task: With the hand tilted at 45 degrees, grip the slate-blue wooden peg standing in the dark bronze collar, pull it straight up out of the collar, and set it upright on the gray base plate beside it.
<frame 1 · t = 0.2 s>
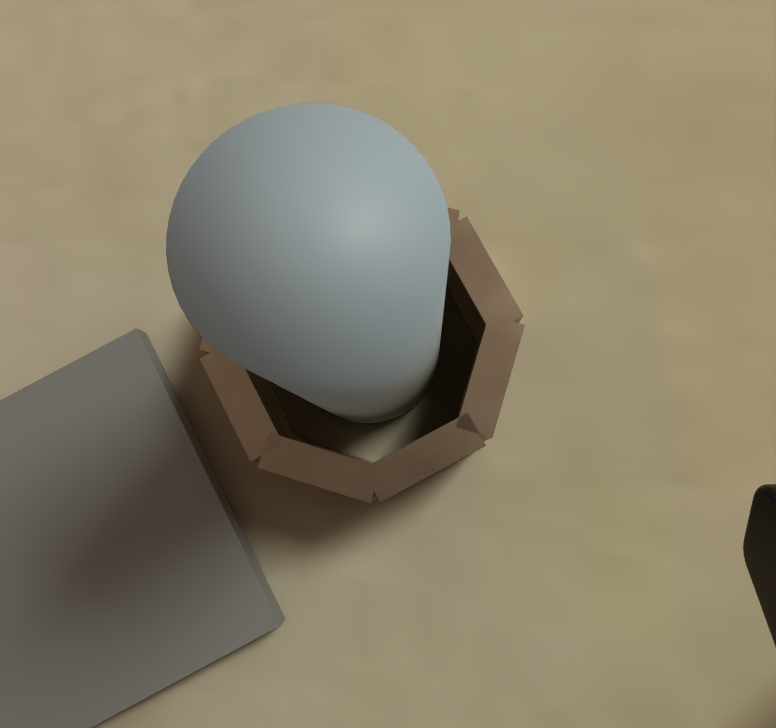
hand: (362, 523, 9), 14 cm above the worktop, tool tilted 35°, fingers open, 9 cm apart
gray base plate: (71, 548, 23), on the worktop
bronze collar: (368, 353, 23), on the worktop
slate peg: (348, 315, 17), in the bronze collar
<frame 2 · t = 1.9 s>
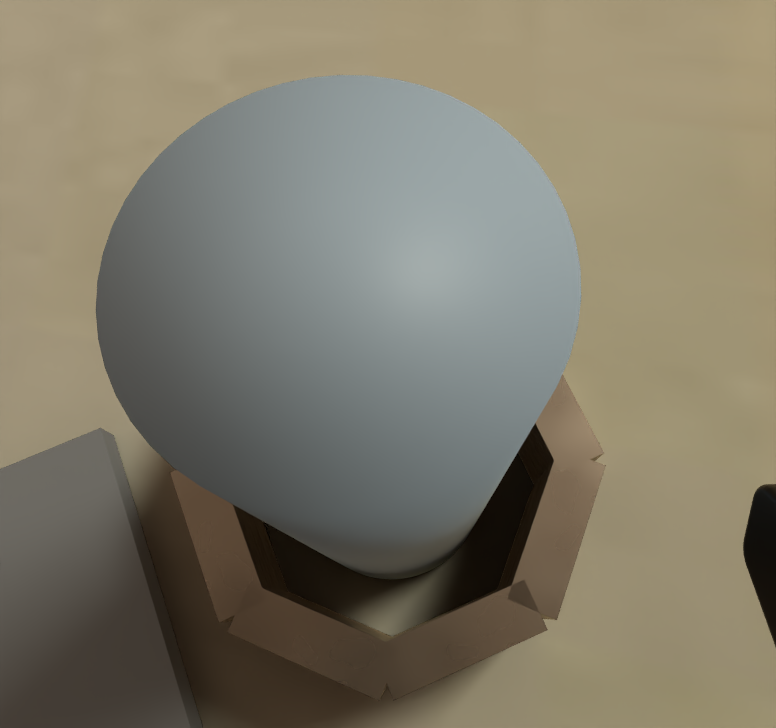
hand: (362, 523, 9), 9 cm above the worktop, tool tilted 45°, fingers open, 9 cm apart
bronze collar: (391, 486, 18), on the worktop
slate peg: (376, 429, 12), in the bronze collar
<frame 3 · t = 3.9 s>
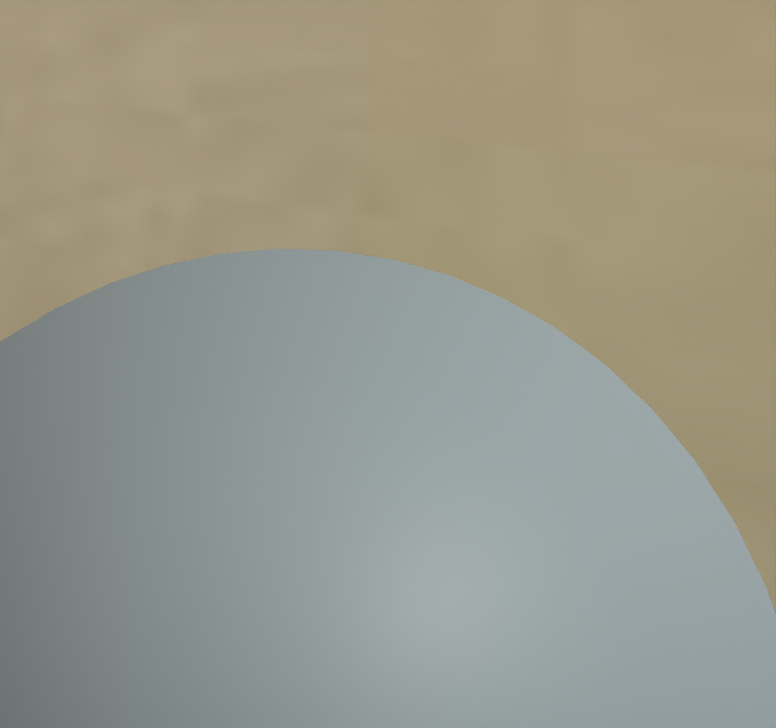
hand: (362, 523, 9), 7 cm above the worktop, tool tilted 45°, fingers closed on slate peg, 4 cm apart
slate peg: (366, 648, 9), in the bronze collar, touching gripper
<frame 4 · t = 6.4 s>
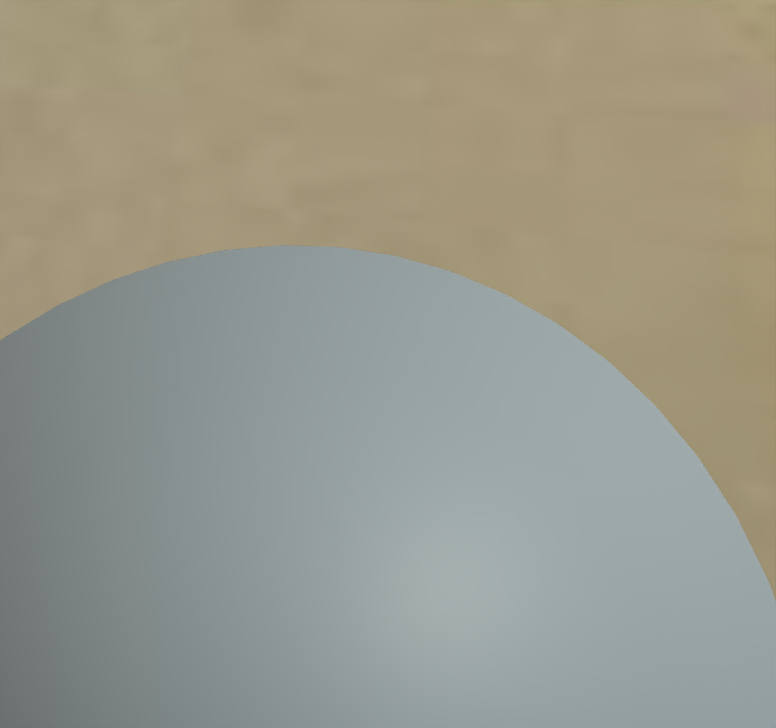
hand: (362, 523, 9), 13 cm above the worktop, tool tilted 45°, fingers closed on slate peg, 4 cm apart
slate peg: (368, 646, 9), point 13 cm above the worktop, touching gripper
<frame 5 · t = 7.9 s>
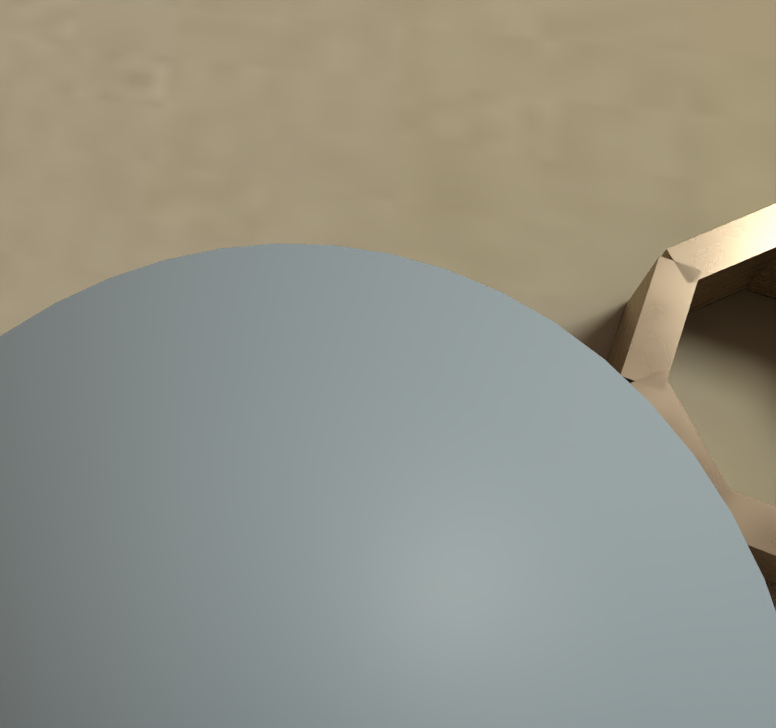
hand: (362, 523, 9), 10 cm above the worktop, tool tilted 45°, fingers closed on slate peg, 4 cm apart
bronze collar: (764, 410, 19), on the worktop
slate peg: (366, 646, 9), point 10 cm above the worktop, touching gripper
when the fingers open (9 cm above the worktop, at t = 9.0 s): slate peg drops 1 cm, resting on gray base plate.
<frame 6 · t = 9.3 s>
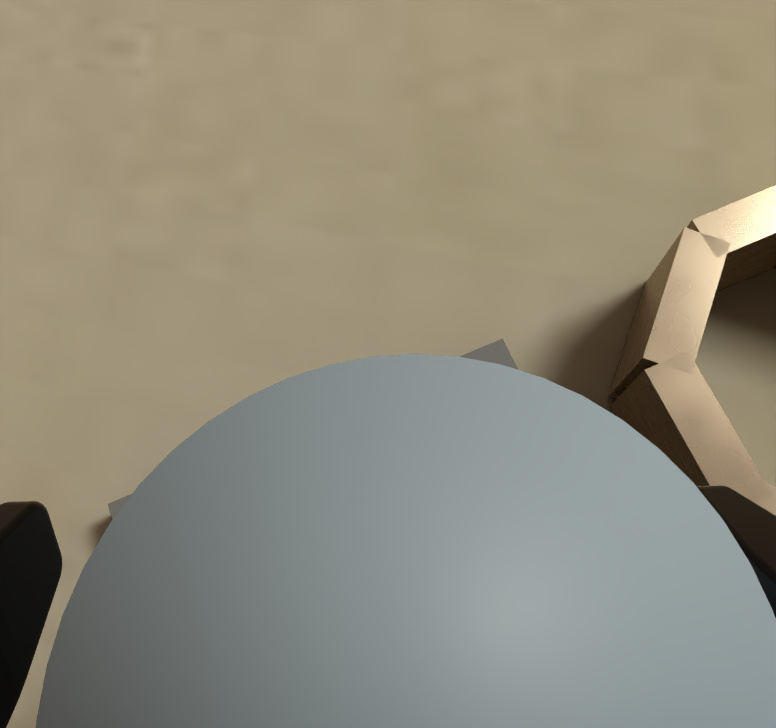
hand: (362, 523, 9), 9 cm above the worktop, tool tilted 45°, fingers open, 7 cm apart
gray base plate: (393, 626, 17), on the worktop
slate peg: (397, 648, 10), on the gray base plate, point 7 cm above the worktop
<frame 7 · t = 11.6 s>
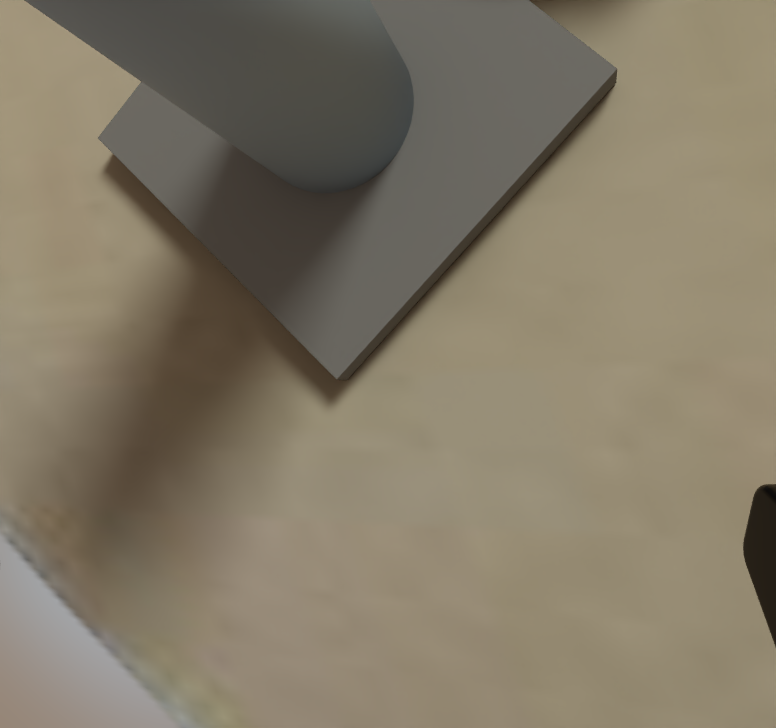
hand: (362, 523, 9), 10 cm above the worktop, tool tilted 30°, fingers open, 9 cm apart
gray base plate: (341, 117, 20), on the worktop
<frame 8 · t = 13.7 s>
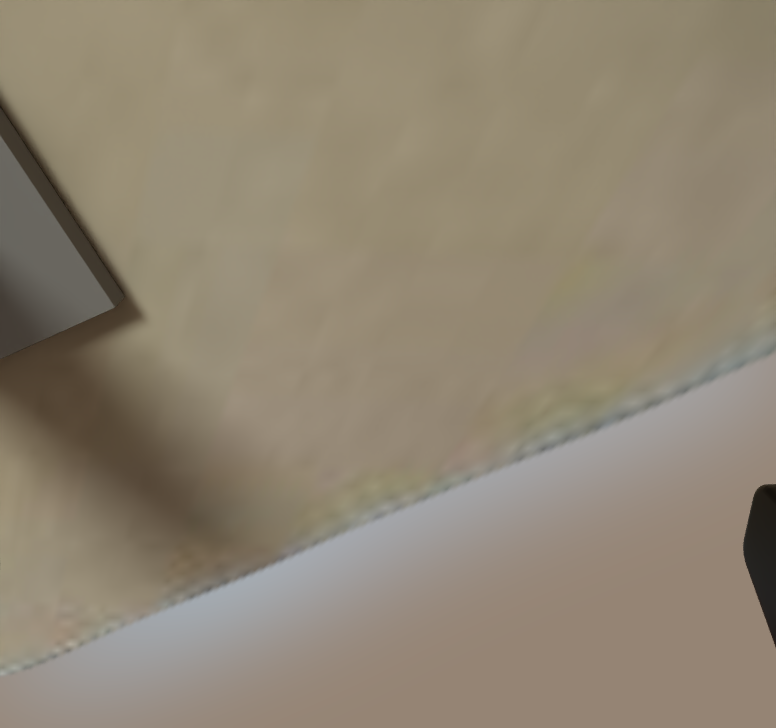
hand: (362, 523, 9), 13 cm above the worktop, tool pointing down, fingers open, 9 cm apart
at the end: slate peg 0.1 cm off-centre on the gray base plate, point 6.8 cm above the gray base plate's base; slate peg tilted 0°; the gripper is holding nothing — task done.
